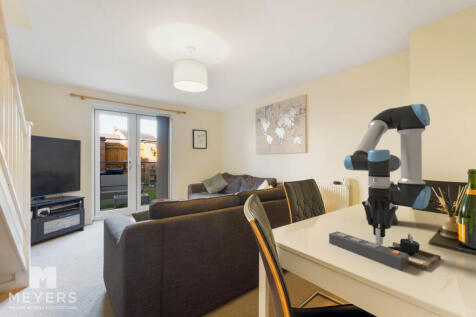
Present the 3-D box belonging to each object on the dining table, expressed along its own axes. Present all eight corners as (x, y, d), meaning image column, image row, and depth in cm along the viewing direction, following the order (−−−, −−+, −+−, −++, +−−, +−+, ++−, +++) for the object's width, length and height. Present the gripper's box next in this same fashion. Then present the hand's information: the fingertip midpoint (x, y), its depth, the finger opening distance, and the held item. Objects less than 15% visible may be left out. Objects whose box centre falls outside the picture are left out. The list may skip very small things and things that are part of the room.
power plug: (381, 251, 80) (421, 259, 75) (383, 232, 79) (423, 239, 74) (378, 245, 85) (415, 252, 80) (379, 227, 84) (417, 233, 79)
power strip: (337, 240, 92) (337, 230, 92) (408, 266, 70) (408, 252, 70) (329, 242, 89) (329, 232, 89) (400, 270, 67) (400, 256, 67)
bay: (394, 245, 86) (394, 242, 86) (440, 260, 74) (440, 255, 74) (376, 253, 79) (376, 249, 79) (424, 271, 67) (424, 266, 67)
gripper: (357, 185, 89) (358, 240, 89) (393, 189, 78) (393, 252, 78) (366, 184, 93) (367, 237, 93) (401, 188, 82) (402, 247, 82)
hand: (379, 243), depth 85 cm, fingers closed
